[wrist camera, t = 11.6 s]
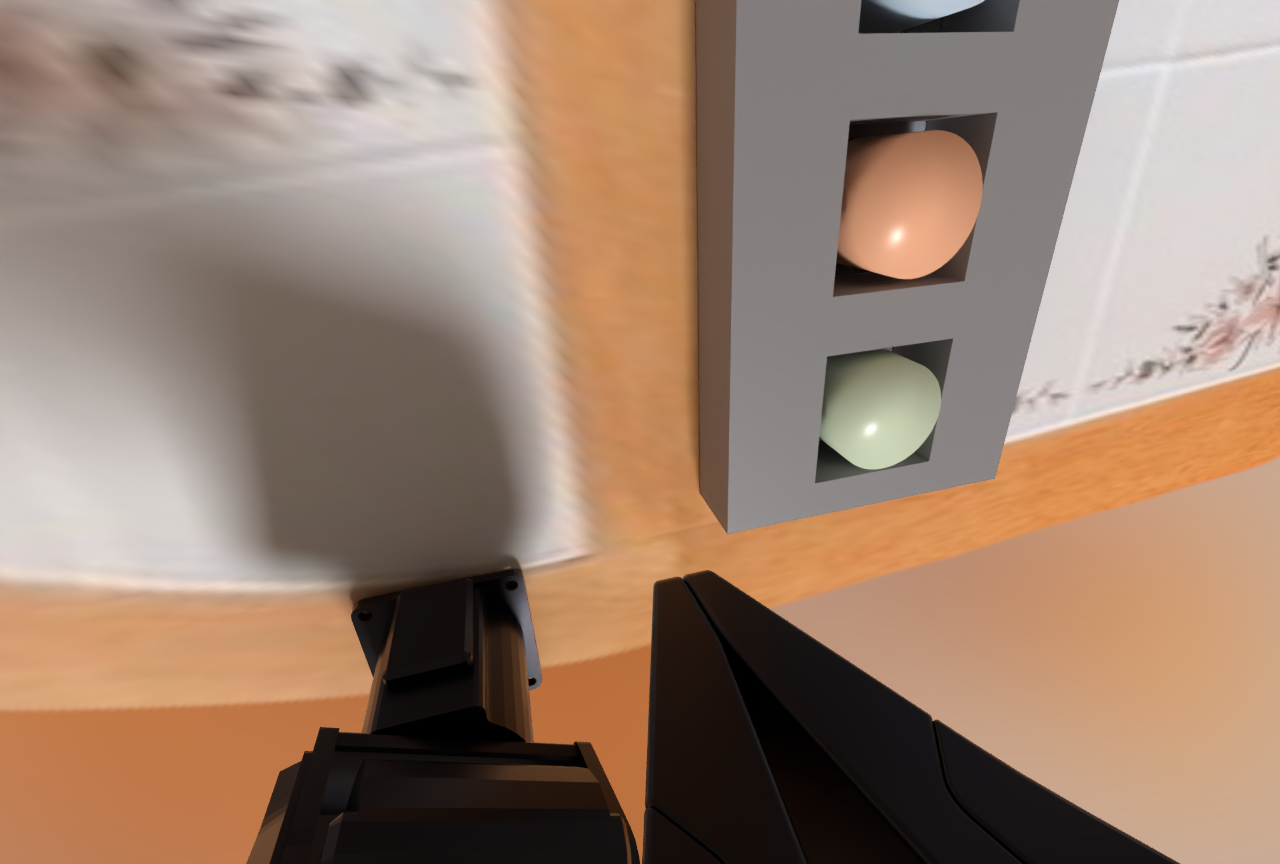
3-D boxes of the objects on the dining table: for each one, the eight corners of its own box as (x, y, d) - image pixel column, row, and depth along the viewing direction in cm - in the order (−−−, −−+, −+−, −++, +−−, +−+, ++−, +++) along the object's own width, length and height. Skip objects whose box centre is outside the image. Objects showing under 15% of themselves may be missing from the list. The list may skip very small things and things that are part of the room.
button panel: (942, 447, 26) (994, 478, 23) (700, 493, 23) (727, 534, 21) (1079, -215, 16) (1194, -290, 14) (693, -253, 14) (742, -352, 11)
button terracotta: (902, 259, 21) (967, 272, 18) (801, 270, 20) (853, 285, 17) (920, 133, 19) (996, 126, 16) (811, 139, 18) (870, 133, 16)
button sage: (877, 426, 24) (930, 459, 21) (789, 441, 23) (831, 478, 20) (891, 331, 22) (950, 354, 19) (796, 344, 21) (843, 370, 19)
